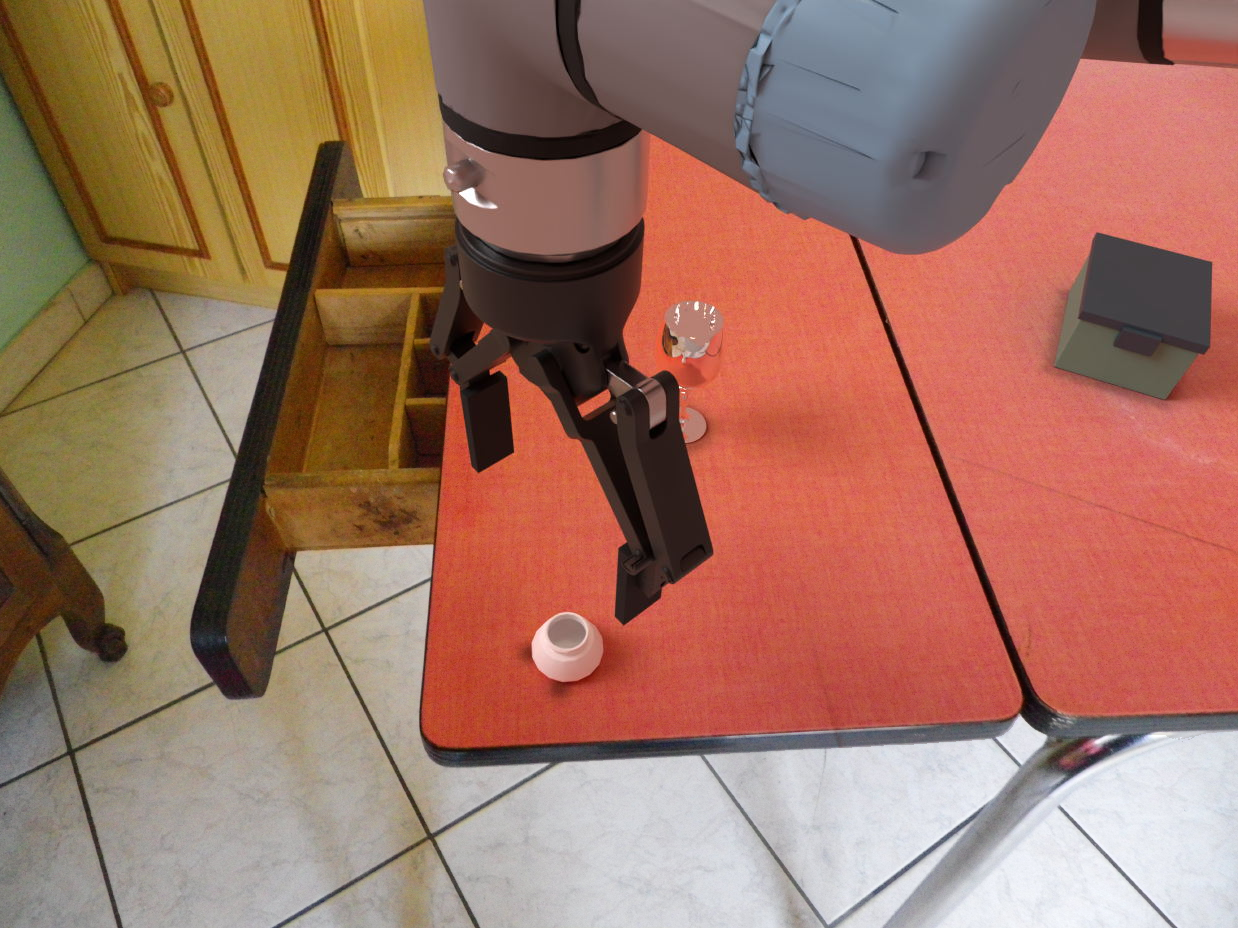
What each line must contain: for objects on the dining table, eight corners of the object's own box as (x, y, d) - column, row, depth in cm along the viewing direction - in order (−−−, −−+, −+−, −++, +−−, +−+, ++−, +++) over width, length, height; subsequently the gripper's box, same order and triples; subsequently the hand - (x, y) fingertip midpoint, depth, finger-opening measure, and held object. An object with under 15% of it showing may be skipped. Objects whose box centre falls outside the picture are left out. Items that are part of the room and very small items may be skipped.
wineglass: (635, 422, 75) (641, 316, 66) (681, 392, 78) (693, 286, 69) (681, 459, 73) (694, 354, 63) (727, 427, 75) (746, 322, 66)
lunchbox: (1168, 407, 78) (1210, 350, 73) (1049, 371, 81) (1081, 313, 76) (1174, 315, 87) (1212, 259, 82) (1067, 286, 90) (1097, 229, 84)
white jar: (531, 623, 62) (533, 686, 59) (529, 602, 60) (531, 667, 56) (599, 618, 62) (605, 681, 59) (600, 597, 60) (606, 661, 57)
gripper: (309, 112, 37) (392, 434, 54) (703, 441, 26) (656, 726, 42) (453, 65, 41) (490, 382, 57) (861, 337, 29) (761, 639, 45)
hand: (560, 528), depth 49 cm, fingers open, 13 cm apart
